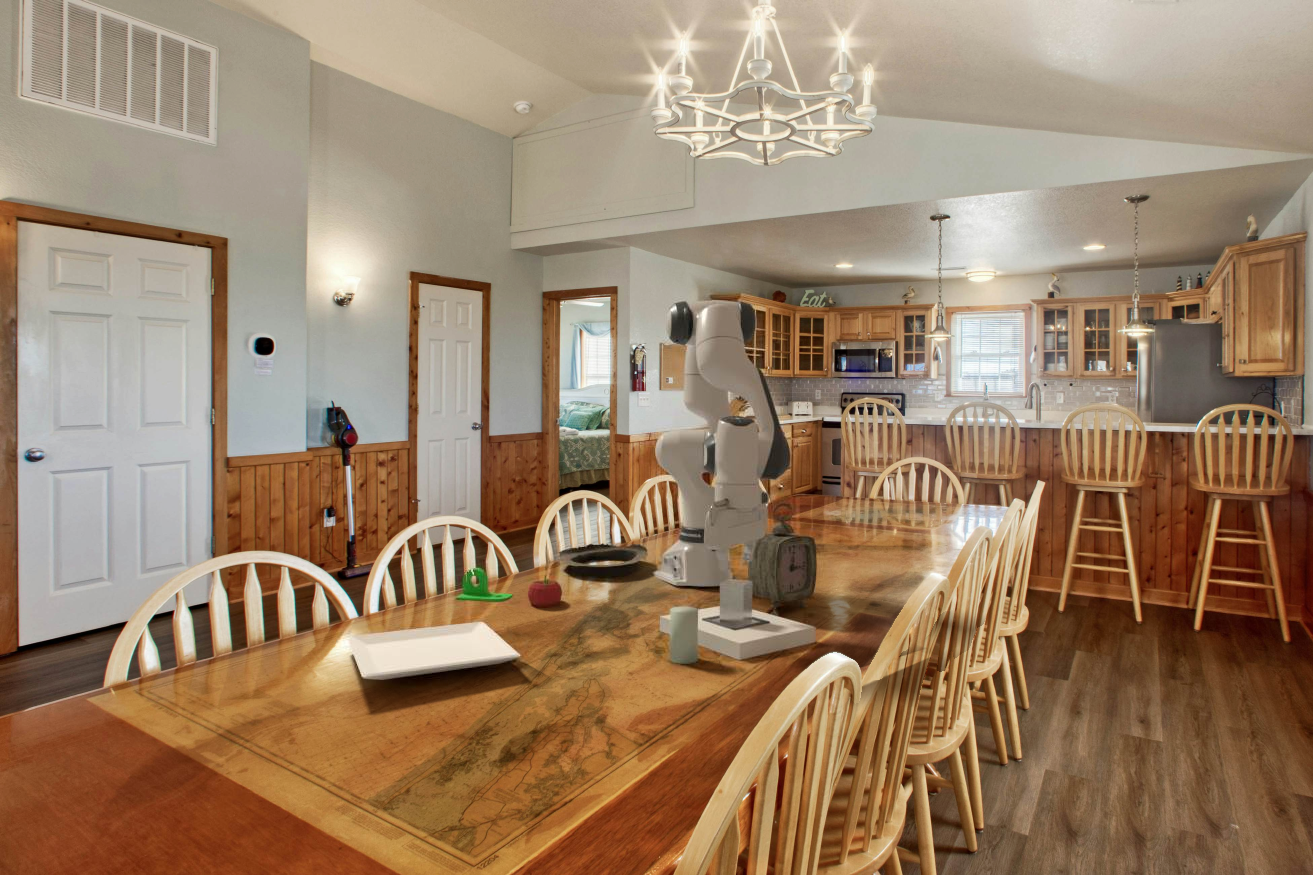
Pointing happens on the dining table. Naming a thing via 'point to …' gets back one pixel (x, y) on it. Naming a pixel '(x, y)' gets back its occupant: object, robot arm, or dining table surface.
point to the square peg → (736, 602)
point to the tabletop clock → (783, 564)
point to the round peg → (684, 635)
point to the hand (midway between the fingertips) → (736, 565)
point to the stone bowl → (603, 553)
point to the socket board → (747, 634)
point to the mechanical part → (479, 588)
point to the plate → (428, 650)
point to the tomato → (544, 593)
